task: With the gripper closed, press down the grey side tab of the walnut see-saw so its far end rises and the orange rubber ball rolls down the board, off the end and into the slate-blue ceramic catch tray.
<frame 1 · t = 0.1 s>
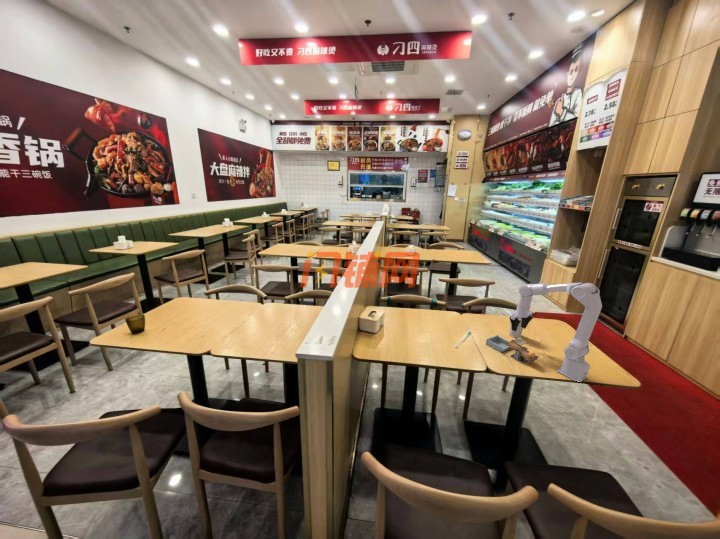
hand: (518, 329, 152), 10 cm above the table, tool pointing down, fingers open, 7 cm apart
cup: (514, 335, 166), on the table
seesaw: (525, 348, 144), point 5 cm above the table, hinge at -11.0°, touching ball
tray: (498, 346, 153), on the table
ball: (531, 354, 138), point 5 cm above the table, tilted 15°, touching seesaw
stand: (519, 357, 144), on the table
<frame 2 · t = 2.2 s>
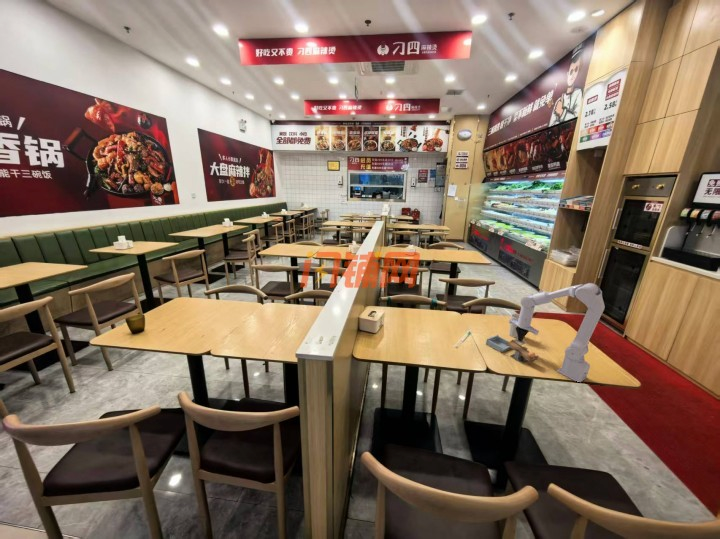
hand: (520, 340, 150), 5 cm above the table, tool pointing down, fingers closed, pressing on seesaw
seesaw: (525, 348, 144), point 5 cm above the table, hinge at -11.0°, touching gripper
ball: (531, 354, 138), point 5 cm above the table, tilted 15°
everything else where it was.
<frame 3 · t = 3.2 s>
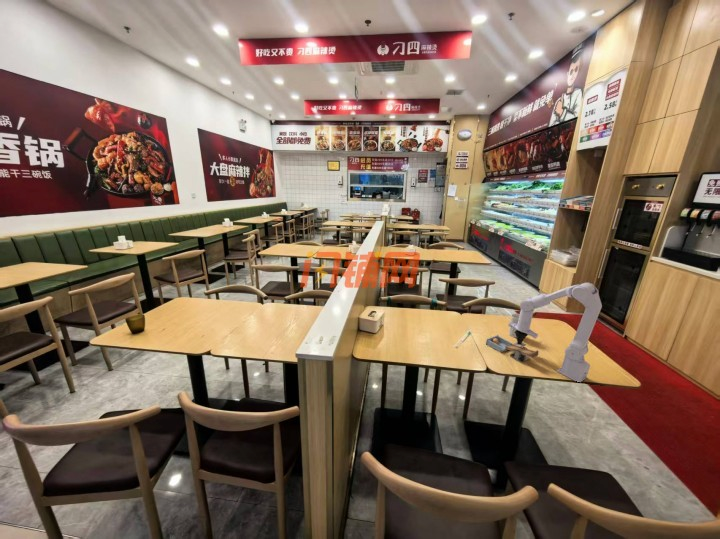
hand: (519, 343, 150), 3 cm above the table, tool pointing down, fingers closed
seesaw: (525, 347, 144), point 5 cm above the table, hinge at 11.5°, touching gripper
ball: (495, 341, 155), point 2 cm above the table, tilted 36°, touching tray
everything else where it was.
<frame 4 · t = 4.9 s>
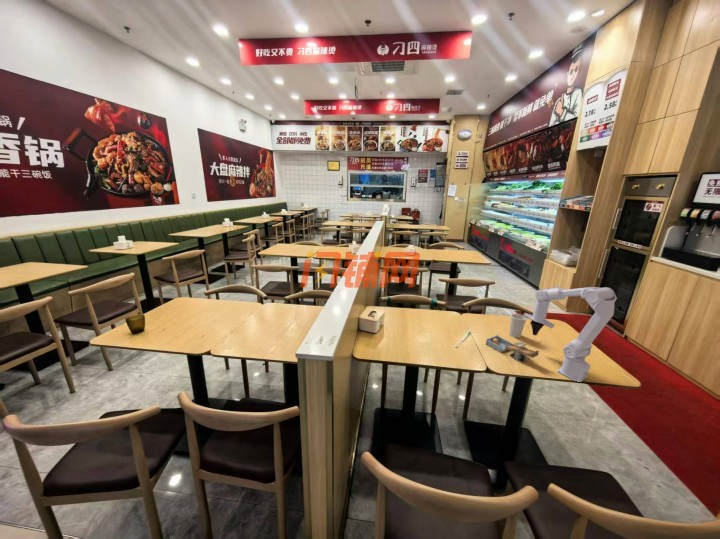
hand: (534, 334, 149), 9 cm above the table, tool pointing down, fingers closed
seesaw: (525, 347, 144), point 5 cm above the table, hinge at 11.6°
everything else where it was.
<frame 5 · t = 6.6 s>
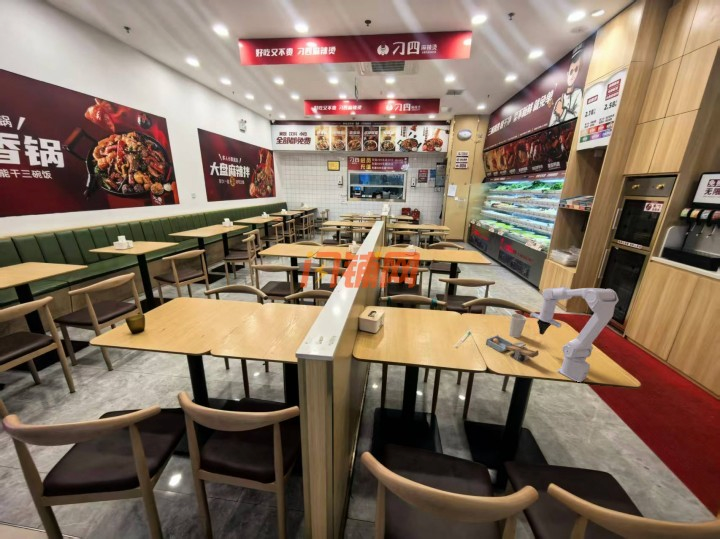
hand: (541, 333, 149), 9 cm above the table, tool pointing down, fingers closed
nothing on the table moved.
at the end: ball inside the target area on the tray (2.3 cm from its centre), point 1.9 cm above the tray's base; seesaw at +12° (first picture: -11°); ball touching tray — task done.
